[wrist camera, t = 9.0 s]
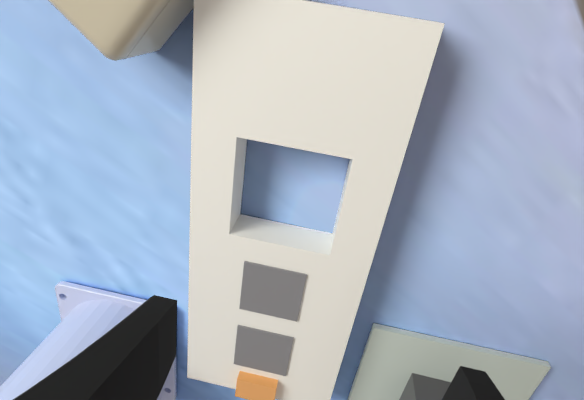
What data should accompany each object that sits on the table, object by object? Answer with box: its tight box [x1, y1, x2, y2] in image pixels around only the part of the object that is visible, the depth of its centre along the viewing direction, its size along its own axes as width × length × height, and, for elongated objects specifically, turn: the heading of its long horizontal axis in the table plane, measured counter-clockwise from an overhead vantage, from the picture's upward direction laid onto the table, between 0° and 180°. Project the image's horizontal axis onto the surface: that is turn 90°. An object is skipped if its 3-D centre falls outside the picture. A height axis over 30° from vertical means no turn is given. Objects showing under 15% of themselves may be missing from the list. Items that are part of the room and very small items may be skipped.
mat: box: [347, 323, 551, 400], centre depth 24 cm, size 10×10×1 cm
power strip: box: [187, 0, 444, 400], centre depth 19 cm, size 22×9×3 cm, turn 172°
